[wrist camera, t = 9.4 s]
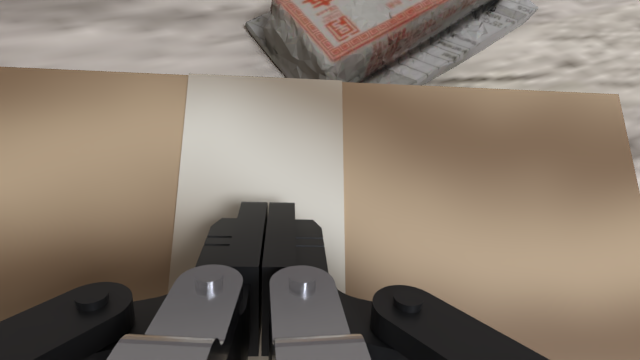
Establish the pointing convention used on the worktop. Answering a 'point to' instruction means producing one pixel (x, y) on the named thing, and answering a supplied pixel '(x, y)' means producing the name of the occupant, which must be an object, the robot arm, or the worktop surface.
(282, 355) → the robot arm
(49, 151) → the carton lid
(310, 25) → the packaged product
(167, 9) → the worktop surface
